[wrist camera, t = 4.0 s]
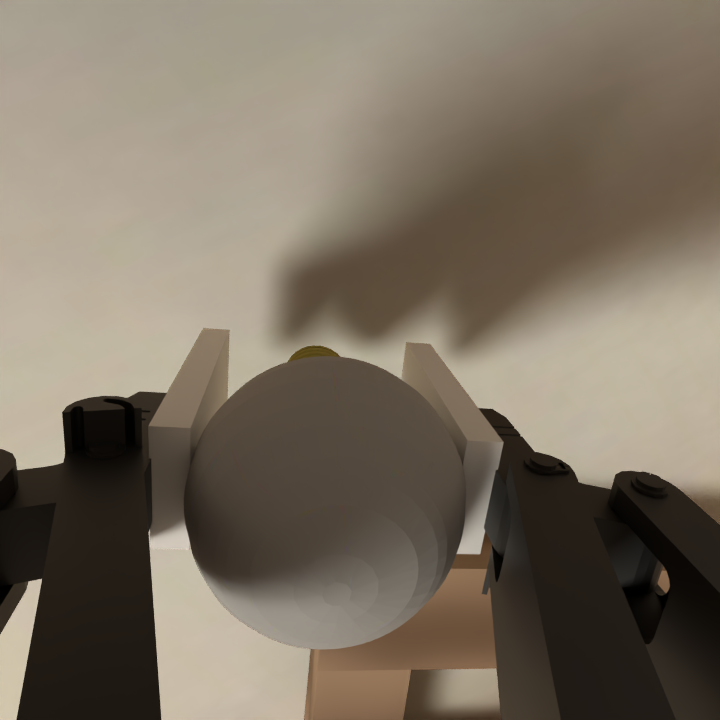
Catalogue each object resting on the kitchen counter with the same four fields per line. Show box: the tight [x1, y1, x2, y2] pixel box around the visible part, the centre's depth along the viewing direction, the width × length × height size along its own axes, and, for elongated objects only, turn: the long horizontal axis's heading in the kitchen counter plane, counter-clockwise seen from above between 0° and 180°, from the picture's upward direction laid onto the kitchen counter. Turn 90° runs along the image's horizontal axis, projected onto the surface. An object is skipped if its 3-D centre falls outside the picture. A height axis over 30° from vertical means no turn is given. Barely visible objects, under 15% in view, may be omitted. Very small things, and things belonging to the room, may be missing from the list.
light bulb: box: [184, 346, 466, 649], centre depth 13 cm, size 5×6×10 cm
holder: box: [304, 531, 670, 720], centre depth 24 cm, size 16×16×3 cm
